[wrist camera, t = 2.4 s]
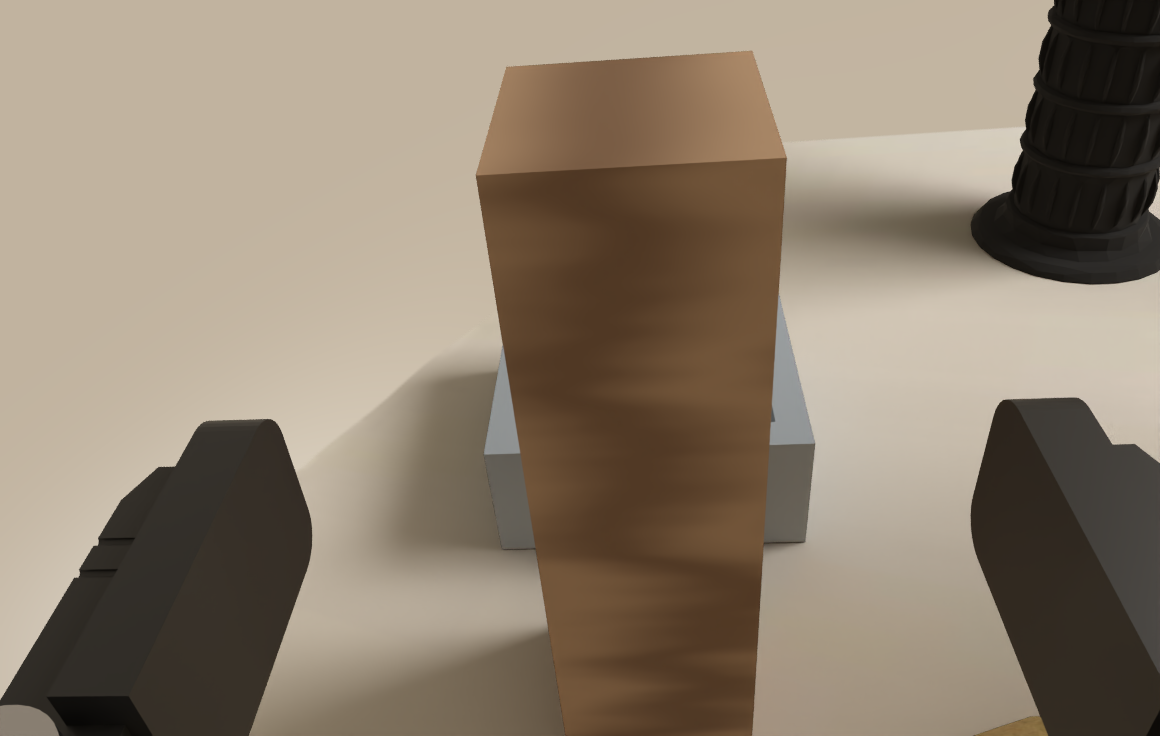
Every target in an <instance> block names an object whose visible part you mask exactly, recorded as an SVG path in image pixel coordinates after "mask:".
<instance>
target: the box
mask: <svg viewBox="0 0 1160 736" xmlns="http://www.w3.org/2000/svg"><path fill="white" fill-rule="evenodd" d="M814 450H815V441H814V437H813V433H812V429H811V424H810V420H809V416H808V412H807V408H806V404H805V400H804V395H803V391H802V387H801V383H800V379H799V375H798V371H797V367H796V362H795V358H794V354H793V350H792V346H791V342H790V338H789V333H788V329H787V325H786V321H785V317H784V313H783V309H782V305H781V300H780V296H779V295H778V311H777V328H776V345H775V361H774V378H773V395H772V411H771V428H770V445H769V461H768V478H767V495H766V511H765V528H764V543H770V542H805V540H806V530H807V520H808V510H809V500H810V490H811V480H812V470H813V460H814ZM484 459H485V464H486V469H487V475H488V480H489V485H490V490H491V495H492V500H493V506H494V511H495V516H496V521H497V526H498V532H499V537H500V542H501V547H502V549H533V548H535V542H534V536H533V529H532V523H531V517H530V511H529V504H528V498H527V492H526V486H525V479H524V473H523V467H522V461H521V454H520V448H519V442H518V436H517V429H516V423H515V417H514V411H513V404H512V398H511V392H510V386H509V379H508V373H507V367H506V361H505V354H504V348H503V346H502V352H501V358H500V363H499V369H498V375H497V381H496V386H495V392H494V398H493V404H492V409H491V415H490V421H489V427H488V432H487V438H486V444H485V450H484Z"/></svg>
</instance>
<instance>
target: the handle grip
mask: <svg viewBox="0 0 1160 736" xmlns="http://www.w3.org/2000/svg"><path fill="white" fill-rule="evenodd" d="M1048 21H1049V22H1050V24H1051V27H1050V29H1049V30H1048V32H1047V34H1046V36H1045V38H1044V40H1043V41H1042V46H1041V50H1040V55H1039V69H1040V70H1039V71H1038V73H1037V74H1036V75H1035V77H1034V78H1033V81H1034V86H1035V89H1036V91H1035V92H1034V94H1033V97H1032V99H1031V101H1030V103H1029V104H1028V109H1027V113H1026V119H1025V122H1026V130H1025V131H1024V133H1023V134H1022V136H1021V138H1020V143H1021V148H1022V149H1023V151H1022V153H1021V155H1020V157H1019V159H1018V162H1017V163H1016V165H1015V167H1014V172H1013V176H1012V188H1013V189H1012V190H1011V191H1010V192H1006V193H1003V194H1001V195H999V196H996V197H994V198H992V199H990V200H989V201H988V202H987V203H986V204H985V205H984V206H983V207H982V208H981V209H979V210H978V211H977V212H976V213H975V214H974V217H973V220H972V222H971V230H972V235H973V237H974V238H975V240H976V241H977V243H978V244H979V246H980V247H981V248H982V249H984V250H985V251H986V252H987V253H989V254H990V255H991V256H992V257H994V258H995V259H997V260H999V261H1001V262H1003V263H1005V264H1007V265H1009V266H1011V267H1013V268H1015V269H1018V270H1021V271H1024V272H1027V273H1030V274H1032V275H1035V276H1039V277H1044V278H1049V279H1053V280H1058V281H1063V282H1075V283H1087V284H1098V283H1118V282H1124V281H1129V280H1135V279H1140V278H1143V277H1145V276H1148V275H1151V274H1153V273H1156V272H1158V271H1159V270H1160V220H1159V219H1158V218H1157V217H1155V216H1154V215H1153V214H1152V213H1150V212H1149V210H1148V208H1149V207H1150V206H1151V204H1152V203H1153V201H1154V198H1155V196H1156V192H1157V189H1158V182H1159V179H1160V169H1159V167H1160V0H1054V6H1053V7H1052V8H1051V9H1050V10H1049V12H1048Z"/></svg>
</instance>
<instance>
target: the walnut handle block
mask: <svg viewBox="0 0 1160 736" xmlns="http://www.w3.org/2000/svg"><path fill="white" fill-rule="evenodd" d="M786 161H787V157H786V154H785V151H784V148H783V145H782V142H781V138H780V136H779V132H778V129H777V126H776V123H775V120H774V117H773V114H772V111H771V107H770V104H769V101H768V98H767V95H766V92H765V89H764V86H763V83H762V80H761V77H760V73H759V71H758V67H757V65H756V61H755V58H754V55H753V52H752V51H741V52H727V53H711V54H696V55H680V56H665V57H651V58H635V59H619V60H605V61H590V62H574V63H559V64H546V65H545V64H543V65H529V66H514V67H506V70H505V74H504V77H503V81H502V84H501V88H500V91H499V95H498V99H497V102H496V106H495V109H494V113H493V117H492V120H491V123H490V127H489V130H488V135H487V138H486V141H485V145H484V148H483V152H482V156H481V159H480V162H479V166H478V169H477V173H476V179H477V186H478V192H479V198H480V205H481V211H482V217H483V223H484V230H485V236H486V241H487V248H488V255H489V260H490V266H491V273H492V279H493V285H494V292H495V298H496V304H497V311H498V317H499V323H500V330H501V336H502V342H503V348H504V354H505V361H506V367H507V373H508V379H509V386H510V392H511V398H512V404H513V411H514V417H515V423H516V429H517V436H518V442H519V448H520V454H521V461H522V467H523V473H524V479H525V486H526V492H527V498H528V504H529V511H530V517H531V523H532V529H533V536H534V542H535V548H536V554H537V561H538V567H539V573H540V579H541V586H542V592H543V598H544V604H545V611H546V617H547V623H548V629H549V636H550V642H551V648H552V654H553V661H554V667H555V673H556V679H557V686H558V692H559V698H560V704H561V711H562V717H563V723H564V729H565V736H752V728H753V711H754V695H755V678H756V661H757V645H758V628H759V611H760V595H761V578H762V561H763V545H764V528H765V511H766V495H767V478H768V461H769V445H770V428H771V411H772V395H773V378H774V361H775V345H776V328H777V311H778V295H779V278H780V261H781V245H782V228H783V211H784V195H785V178H786Z"/></svg>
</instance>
